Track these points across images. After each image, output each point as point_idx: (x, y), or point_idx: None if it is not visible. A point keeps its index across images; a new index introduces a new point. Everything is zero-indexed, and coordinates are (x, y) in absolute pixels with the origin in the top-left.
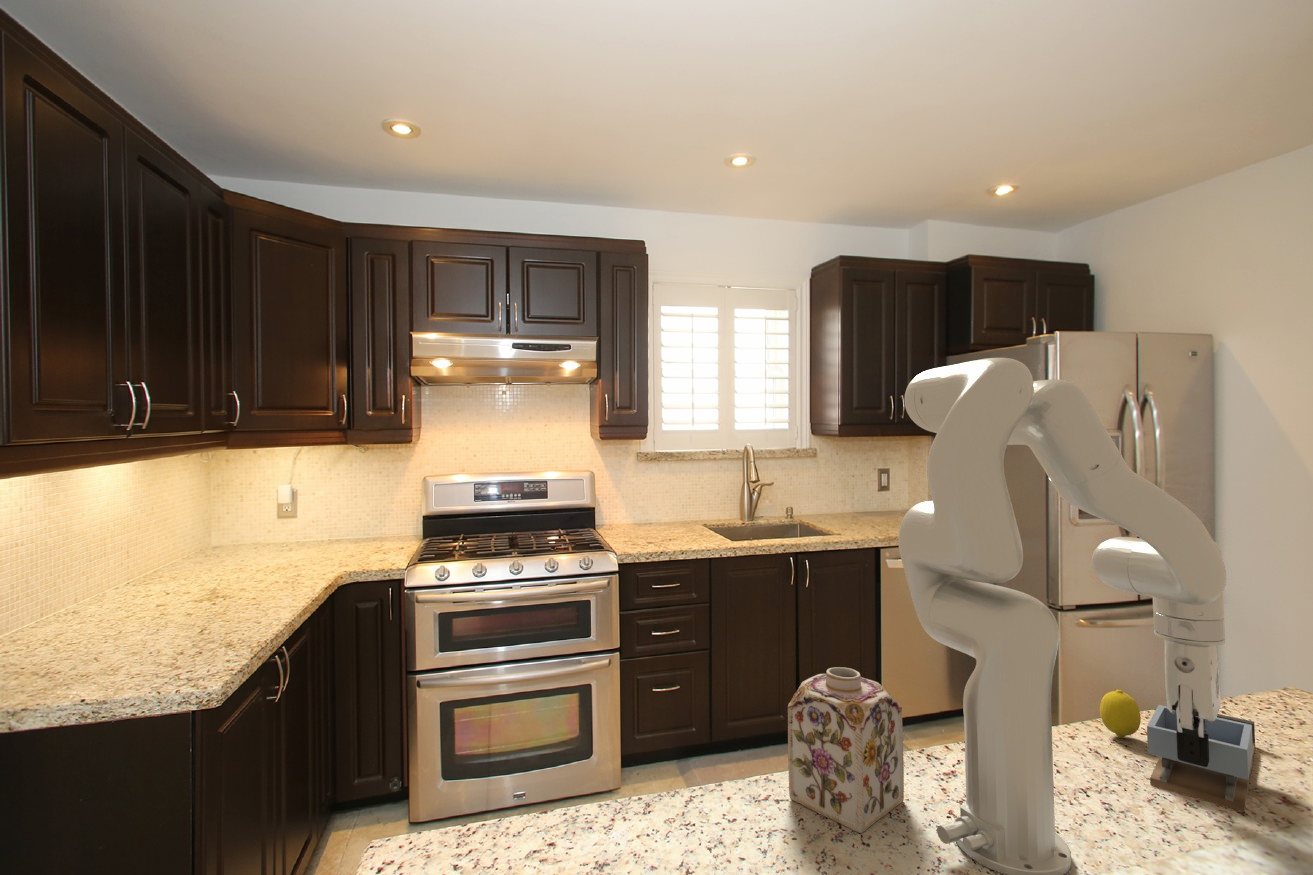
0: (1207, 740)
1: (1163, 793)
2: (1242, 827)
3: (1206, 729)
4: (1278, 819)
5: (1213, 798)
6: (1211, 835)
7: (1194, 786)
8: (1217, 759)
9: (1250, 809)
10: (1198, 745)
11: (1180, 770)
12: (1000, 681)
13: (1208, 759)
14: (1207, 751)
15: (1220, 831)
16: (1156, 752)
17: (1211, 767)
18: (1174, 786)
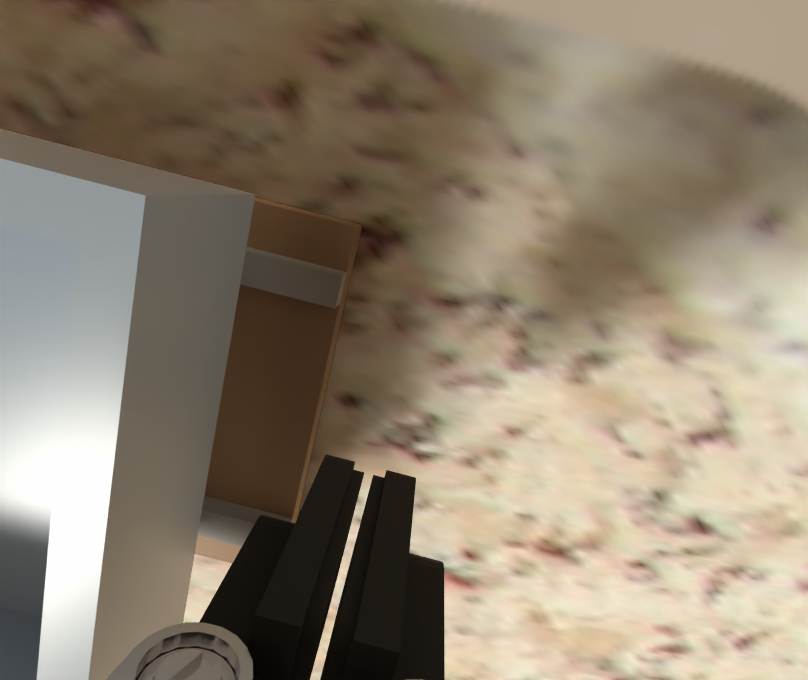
0: (364, 606)
1: (352, 518)
2: (542, 269)
3: (167, 635)
4: (358, 83)
5: (333, 345)
6: (691, 410)
7: (266, 411)
8: (196, 374)
9: (312, 190)
10: (442, 651)
11: None
12: None
13: (349, 475)
14: (405, 544)
15: (633, 368)
16: None
17: (216, 382)
18: (300, 486)
